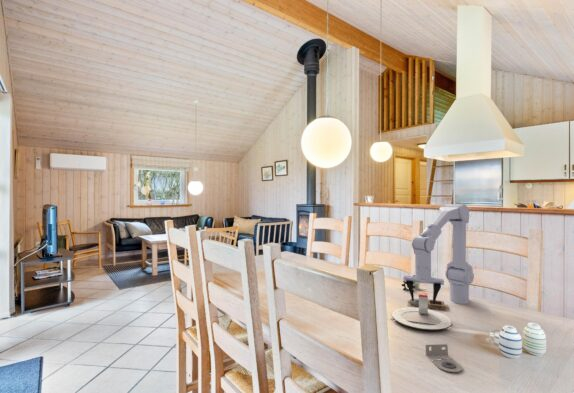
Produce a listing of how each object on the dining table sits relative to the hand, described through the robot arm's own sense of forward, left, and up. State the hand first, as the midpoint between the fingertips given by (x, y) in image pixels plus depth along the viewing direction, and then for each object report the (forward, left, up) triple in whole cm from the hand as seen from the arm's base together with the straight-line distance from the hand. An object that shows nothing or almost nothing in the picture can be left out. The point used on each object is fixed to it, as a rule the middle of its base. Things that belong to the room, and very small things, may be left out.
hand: (423, 301), depth 122 cm
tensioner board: (-10, +2, -6) cm, 12 cm away
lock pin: (0, 0, -4) cm, 4 cm away
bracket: (+34, +5, -6) cm, 35 cm away
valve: (-35, -4, -6) cm, 36 cm away
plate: (+6, -1, -6) cm, 9 cm away
